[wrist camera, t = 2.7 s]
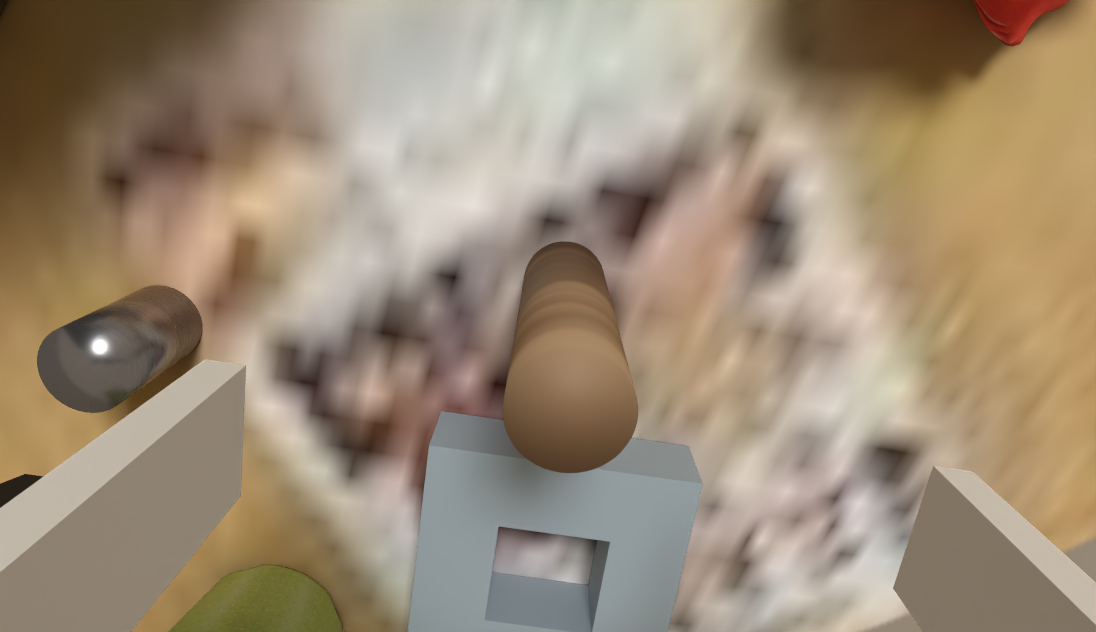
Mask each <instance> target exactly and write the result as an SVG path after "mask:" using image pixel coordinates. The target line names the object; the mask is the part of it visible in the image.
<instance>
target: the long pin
mask: <svg viewBox="0 0 1096 632" xmlns="http://www.w3.org/2000/svg"><path fill="white" fill-rule="evenodd" d="M637 418H638V404H637V397H636V394H635V390H634V386H633V382H632V379H631V375H630V371H629V367H628V363H627V360H626V356H625V352H624V348H623V344H622V341H621V337H620V333H619V329H618V326H617V322H616V318H615V314H614V310H613V307H612V303H611V299H610V295H609V292H608V288H607V284H606V280H605V276H604V273H603V269H602V266H601V264H600V262H599V260H598V259H597V257H596V256H595V255H594V254H593V253H592V252H591V251H590V250H589V249H587V248H586V247H584V246H582V245H580V244H577V243H573V242H556V243H552V244H549V245H547V246H545V247H543V248H542V249H540V250H539V251H538V252H537V253H536V254H535V255H534V256H533V257H532V259H531V260H530V262H529V264H528V266H527V268H526V272H525V277H524V283H523V289H522V295H521V301H520V307H519V312H518V318H517V324H516V330H515V336H514V342H513V348H512V354H511V360H510V366H509V372H508V378H507V384H506V389H505V395H504V401H503V421H504V425H505V429H506V432H507V434H508V436H509V438H510V440H511V442H512V443H513V445H514V446H515V448H516V449H517V450H518V451H519V452H520V453H521V454H522V455H523V456H524V457H525V458H526V459H528V460H529V461H531V462H532V463H534V464H535V465H538V466H540V467H542V468H544V469H547V470H550V471H554V472H559V473H580V472H586V471H590V470H593V469H596V468H598V467H601V466H603V465H605V464H606V463H608V462H610V461H611V460H612V459H614V458H615V457H616V456H617V455H618V454H619V453H621V452H622V450H623V449H624V448H625V447H626V445H627V444H628V442H629V441H630V439H631V438H632V435H633V433H634V431H635V427H636V424H637Z"/></svg>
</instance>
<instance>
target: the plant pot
mask: <svg viewBox="0 0 1096 632" xmlns="http://www.w3.org/2000/svg"><path fill="white" fill-rule="evenodd" d="M169 632H343V628H342V623H341V621H340V619H339V617H338V615H337V613H336V610H335V608H334V605H333V602H332V600H331V597H330V596H329V594H328V593H327V592H326V591H325V590H324V589H323V588H322V587H321V586H320V585H319V584H318V583H317V582H315V581H314V580H313V579H311V578H309V577H308V576H306V575H304V574H302V573H300V572H297V571H295V570H292V569H289V568H285V567H281V566H275V565H261V566H258V567H255V568H251V569H248V570H243V571H239V572H235V573H230V574H228V575H227V576H225V577H224V578H222V579H221V580H220V581H219V582H218V583H217V584H216V585H215V586H214V587H213V588H212V589H211V590H210V591H209V592H207V593H206V594H205V595H204V596H203V597H202V598H201V599H200V600H199V602H198V603H197V604H196V605H195V606H194V607H193V608H192V609H191V610H190V611H189V612H188V613H187V614H186V615H185V616H184V617H183V618H182V619H181V620H180V621H179V622H178V623H177V624H176V625H175V626H174V627H173V628H172V629H171V630H170V631H169Z"/></svg>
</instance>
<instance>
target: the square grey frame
mask: <svg viewBox="0 0 1096 632" xmlns="http://www.w3.org/2000/svg"><path fill="white" fill-rule="evenodd" d="M702 485H703V483H702V480H701V478H700V475H699V473H698V470H697V467H696V465H695V462H694V459H693V457H692V454H691V451H690V449H689V446H684V445H677V444H670V443H662V442H655V441H648V440H641V439H634V438H631V439H630V441H629V442H628V444H627V445H626V447H625V448H624V449H623V450H622V452H621V453H619V454H618V455H617V456H616V457H615V458H614V459H612V460H611V461H610V462H608V463H606V464H605V465H603V466H601V467H598V468H596V469H593V470H590V471H586V472H580V473H559V472H554V471H550V470H547V469H544V468H542V467H540V466H538V465H535V464H534V463H532V462H531V461H529V460H528V459H526V458H525V457H524V456H523V455H522V454H521V453H520V452H519V451H518V450H517V449H516V448H515V446H514V445H513V443H512V442H511V440H510V438H509V436H508V434H507V432H506V429H505V425H504V421H503V420H501V419H494V418H487V417H479V416H472V415H465V414H458V413H451V412H444V411H441V414H440V416H439V419H438V422H437V425H436V428H435V430H434V433H433V436H432V439H431V441H430V444H429V451H428V459H427V468H426V477H425V485H424V494H423V503H422V511H421V520H420V529H419V537H418V546H417V555H416V563H415V572H414V581H413V589H412V598H411V607H410V616H409V624H408V632H668V629H669V624H670V620H671V616H672V612H673V608H674V603H675V599H676V595H677V591H678V586H679V582H680V578H681V574H682V570H683V565H684V561H685V557H686V553H687V548H688V544H689V540H690V536H691V532H692V527H693V523H694V519H695V515H696V510H697V506H698V502H699V498H700V494H701V489H702ZM499 527H507V528H514V529H521V530H529V531H536V532H543V533H550V534H558V535H565V536H572V537H580V538H587V539H594V540H597V544H596V549H595V554H594V559H593V564H592V569H591V574H590V579H589V584H588V585H581V584H574V583H567V582H559V581H552V580H544V579H537V578H530V577H522V576H515V575H507V574H500V573H493V572H492V568H493V561H494V554H495V548H496V541H497V534H498V528H499Z"/></svg>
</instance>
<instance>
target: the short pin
mask: <svg viewBox="0 0 1096 632" xmlns="http://www.w3.org/2000/svg"><path fill="white" fill-rule="evenodd" d="M201 336H202V320H201V317H200V314H199V312H198V310H197V308H196V306H195V305H194V304H193V302H192V301H191V300H190V299H189V298H188V297H187V296H185V295H184V294H183V293H181V292H179V291H178V290H175V289H173V288H170V287H167V286H159V285H155V286H148V287H145V288H142V289H140V290H138V291H136V292H134V293H132V294H130V295H128V296H126V297H123V298H121V299H119V300H117V301H115V302H113V303H111V304H109V305H107V306H105V307H102V308H100V309H98V310H96V311H94V312H92V313H90V314H88V315H86V316H84V317H81V318H79V319H77V320H75V321H73V322H71V323H69V324H67V325H65V326H63V327H60V328H58V329H56V330H54V331H53V332H51V333H50V334H49V335H48V336H47V337H46V338H45V339H44V340H43V342H42V344H41V346H40V348H39V351H38V356H37V366H38V371H39V375H40V377H41V380H42V382H43V383H44V385H45V387H46V388H47V390H48V391H49V392H50V393H51V394H52V395H53V396H54V397H55V398H56V399H57V400H59V401H60V402H61V403H63V404H64V405H66V406H68V407H70V408H72V409H75V410H78V411H82V412H90V413H96V412H103V411H107V410H110V409H112V408H114V407H115V406H117V405H118V404H120V403H121V402H123V401H124V400H125V399H127V398H128V397H130V396H131V395H132V394H134V393H135V392H137V391H138V390H139V389H141V388H142V387H144V386H145V385H146V384H148V383H149V382H151V381H152V380H153V379H155V378H156V377H157V376H159V375H160V374H162V373H163V372H164V371H166V370H167V369H169V368H170V367H171V366H173V365H174V364H176V363H177V362H178V361H180V360H181V359H183V358H184V357H185V356H187V355H188V354H190V353H191V352H192V351H193V350H194V349H195V348H196V347H197V345H198V344H199V342H200V339H201Z"/></svg>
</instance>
